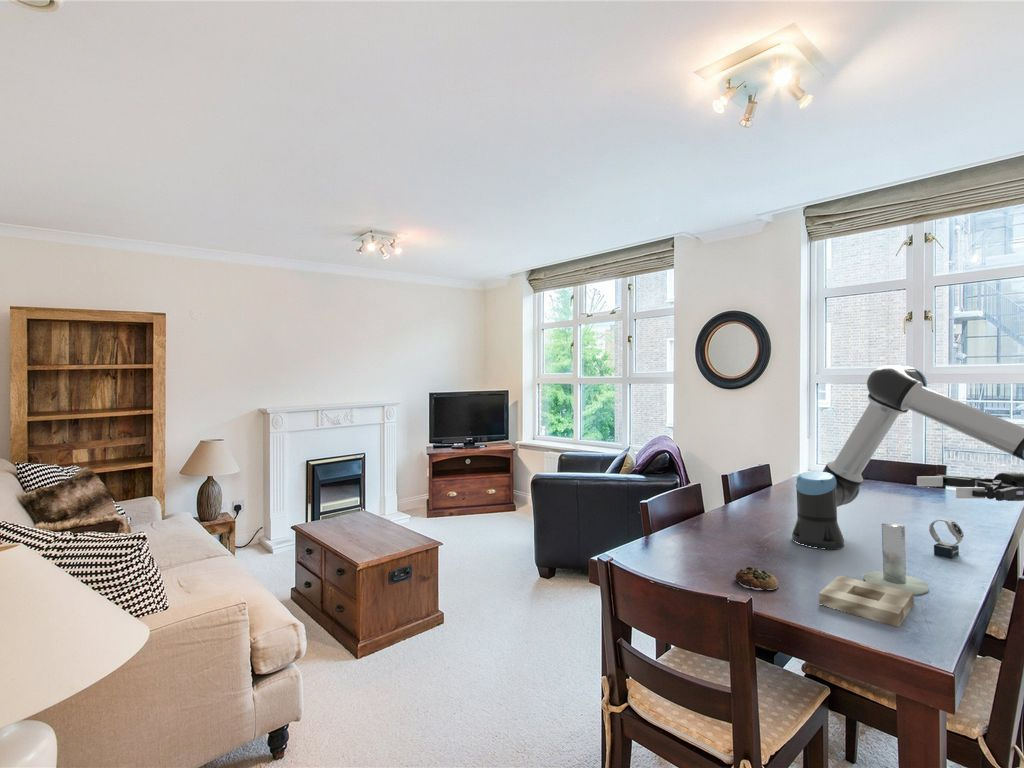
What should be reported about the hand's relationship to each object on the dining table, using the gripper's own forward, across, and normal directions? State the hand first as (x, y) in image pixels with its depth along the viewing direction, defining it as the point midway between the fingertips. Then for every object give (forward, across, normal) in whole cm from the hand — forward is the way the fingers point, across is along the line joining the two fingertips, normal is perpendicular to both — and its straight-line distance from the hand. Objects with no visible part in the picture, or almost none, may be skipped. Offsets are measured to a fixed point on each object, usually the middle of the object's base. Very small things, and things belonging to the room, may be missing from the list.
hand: (936, 486), depth 136 cm
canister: (+12, -1, -25) cm, 28 cm away
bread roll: (+48, 0, -27) cm, 55 cm away
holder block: (+27, -14, -26) cm, 40 cm away
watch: (-19, +21, -26) cm, 38 cm away
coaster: (+12, -1, -26) cm, 29 cm away
